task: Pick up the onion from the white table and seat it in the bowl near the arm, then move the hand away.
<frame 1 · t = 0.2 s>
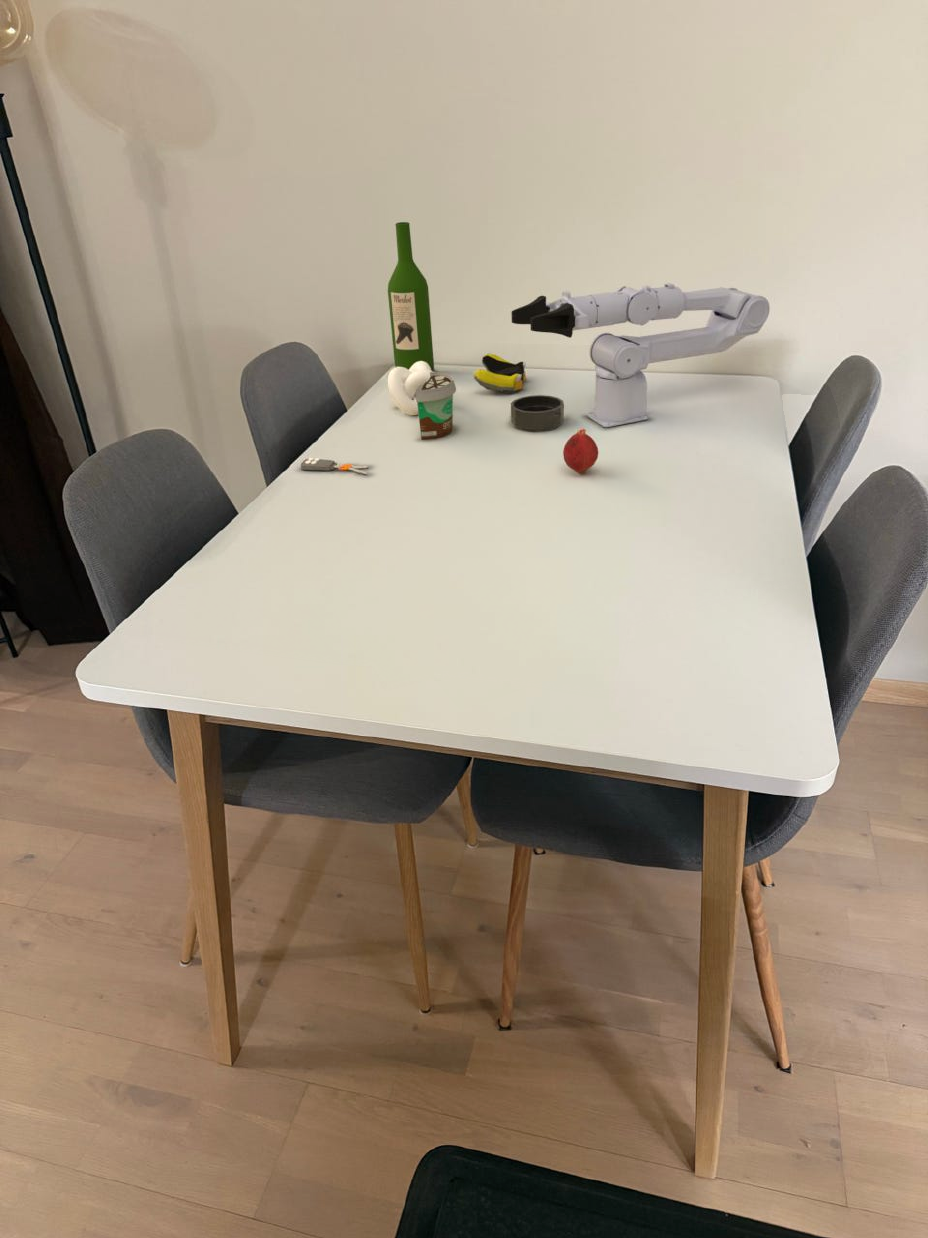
hand: (521, 320, 159), 22 cm above the table, tool horizontal, fingers open, 7 cm apart
banana bunch: (501, 387, 198), on the table
wine bottle: (415, 375, 208), on the table
food container: (442, 432, 176), on the table
white knotted piece: (416, 408, 189), on the table
bowl: (537, 423, 177), on the table
onion: (580, 474, 155), on the table
key chain: (337, 470, 162), on the table
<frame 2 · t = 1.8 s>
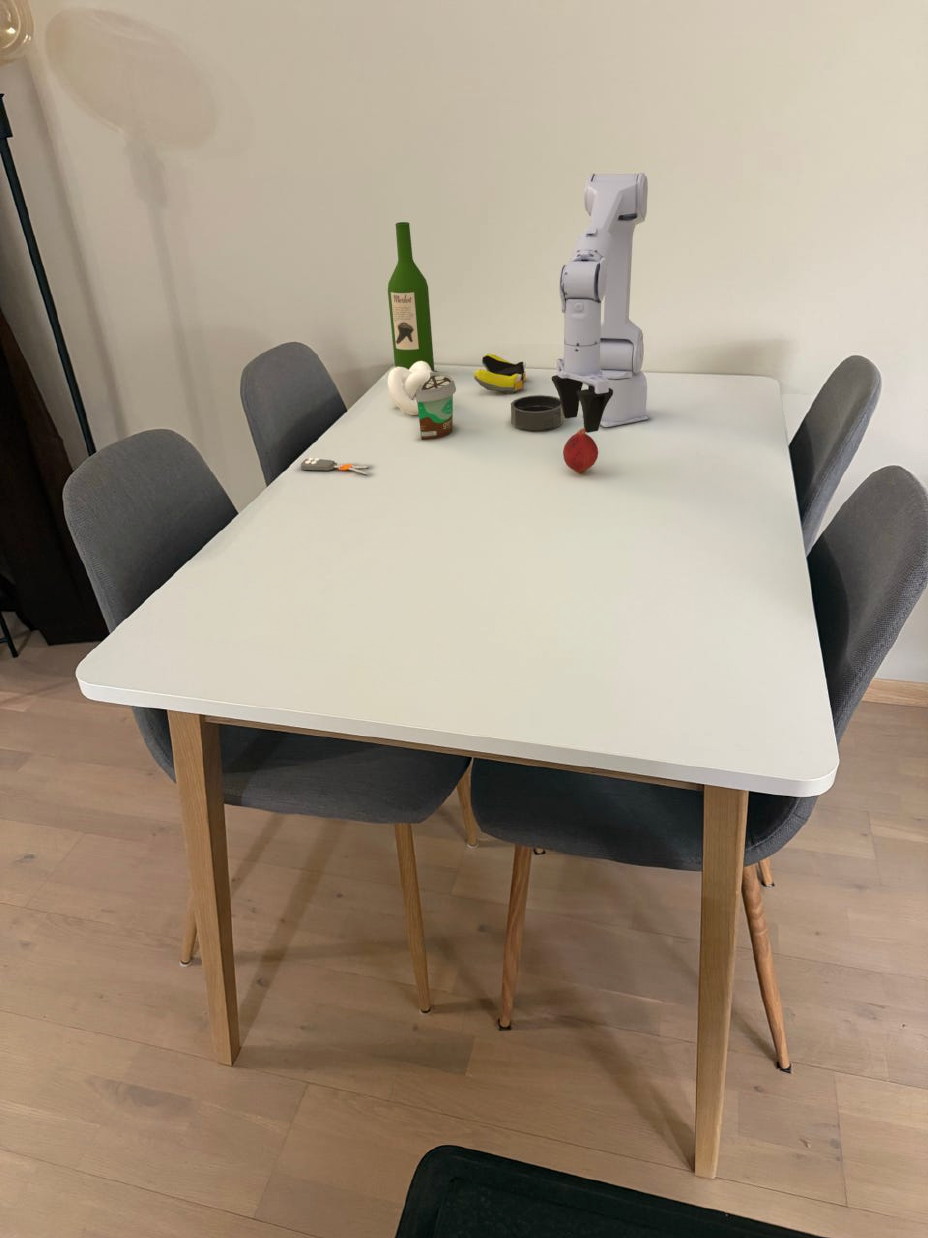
hand: (580, 424, 150), 9 cm above the table, tool pointing down, fingers open, 7 cm apart
nothing on the table moved.
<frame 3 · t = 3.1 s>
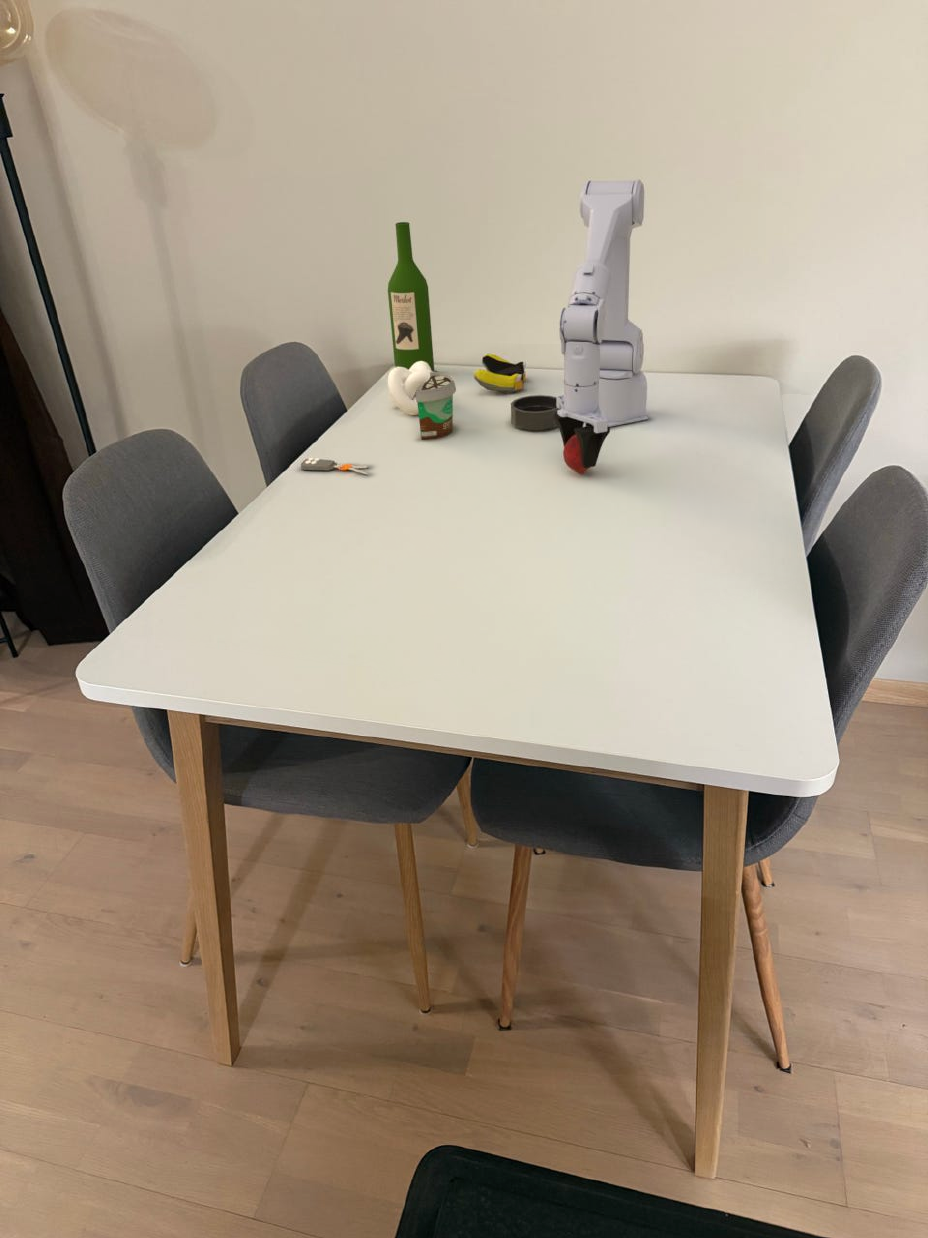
hand: (580, 460, 153), 2 cm above the table, tool pointing down, fingers closed on onion, 6 cm apart
onion: (580, 474, 155), on the table, touching gripper
everything else where it was.
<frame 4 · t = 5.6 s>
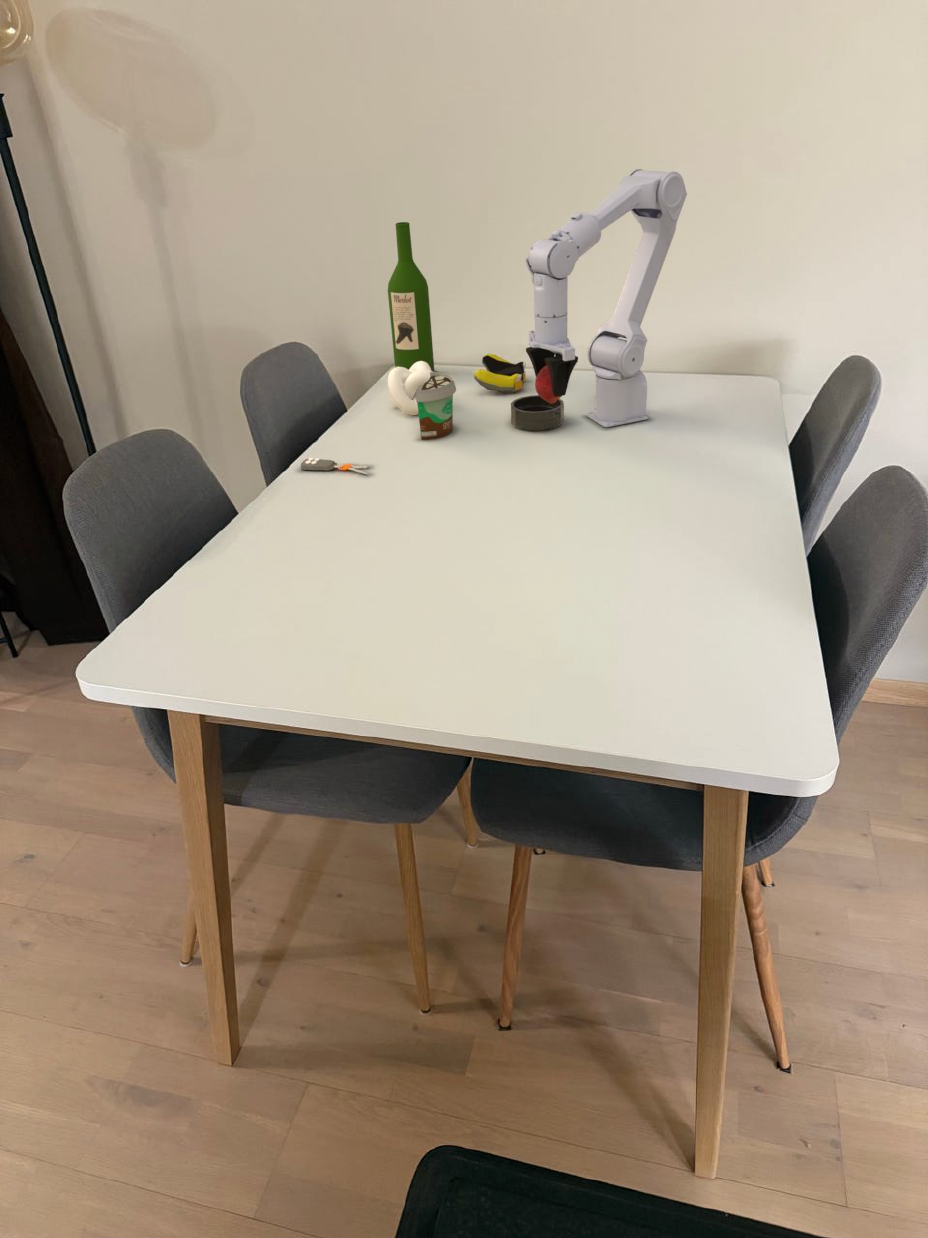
hand: (551, 390, 164), 9 cm above the table, tool pointing down, fingers closed on onion, 6 cm apart
onion: (551, 404, 165), point 7 cm above the table, touching gripper
everything else where it was.
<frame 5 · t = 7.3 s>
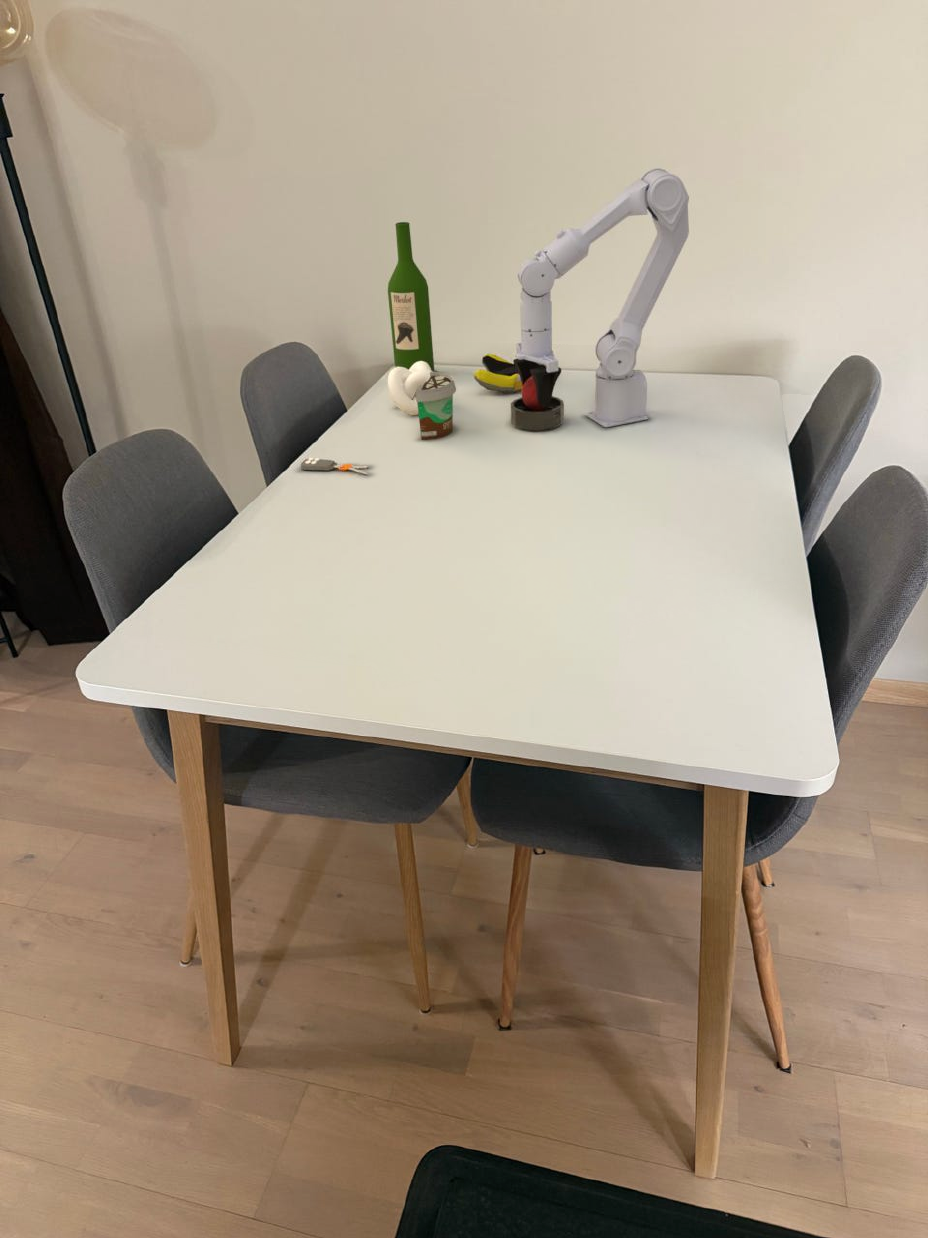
hand: (537, 399, 174), 5 cm above the table, tool pointing down, fingers closed on onion, 6 cm apart
onion: (536, 412, 175), point 2 cm above the table, touching gripper
everything else where it was.
when the fingers open (3 cm above the table, at t = 8.5 s): onion stays where it is, resting on bowl.
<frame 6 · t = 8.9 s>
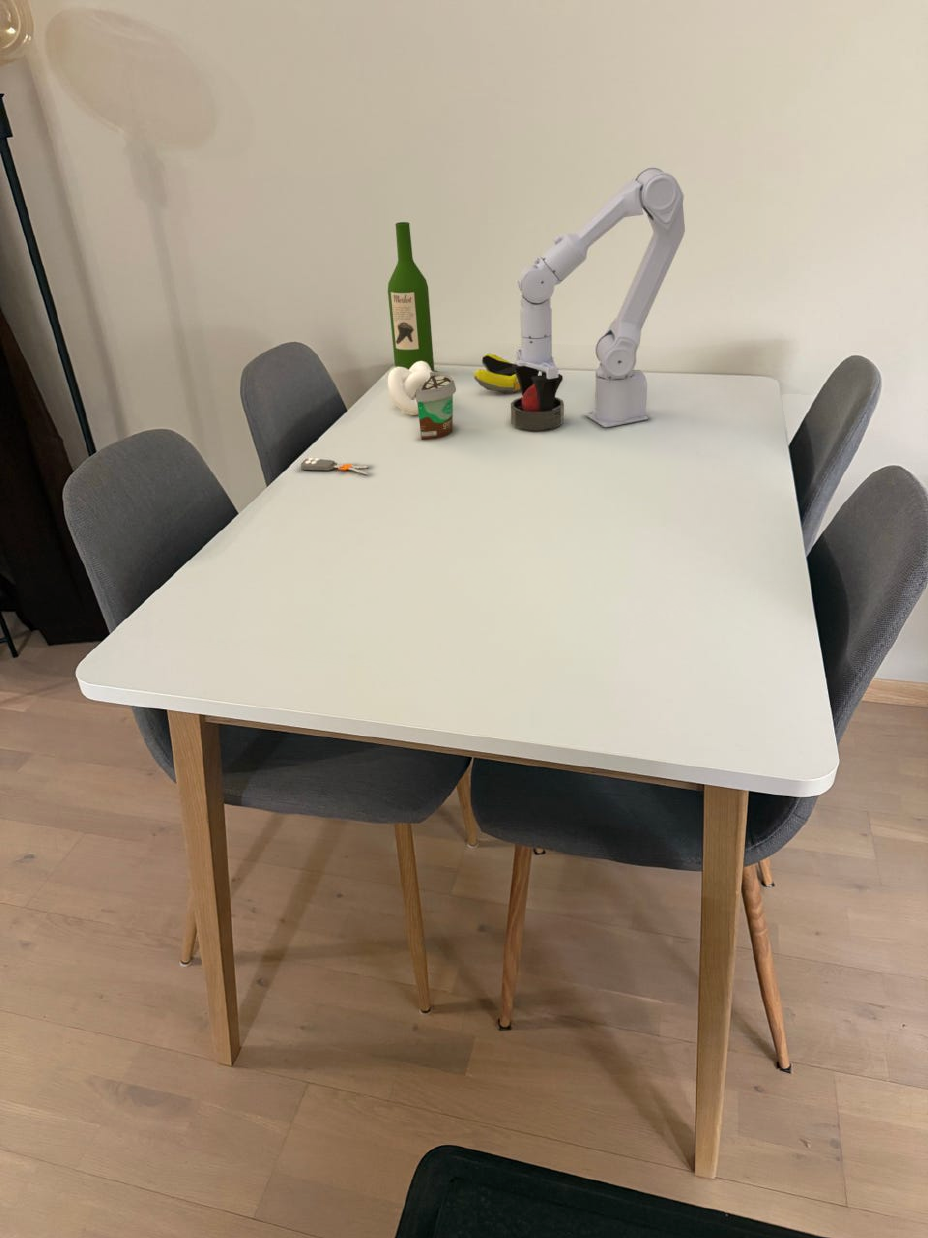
hand: (537, 405, 175), 4 cm above the table, tool pointing down, fingers open, 7 cm apart
onion: (537, 421, 176), resting on bowl
everything else where it was.
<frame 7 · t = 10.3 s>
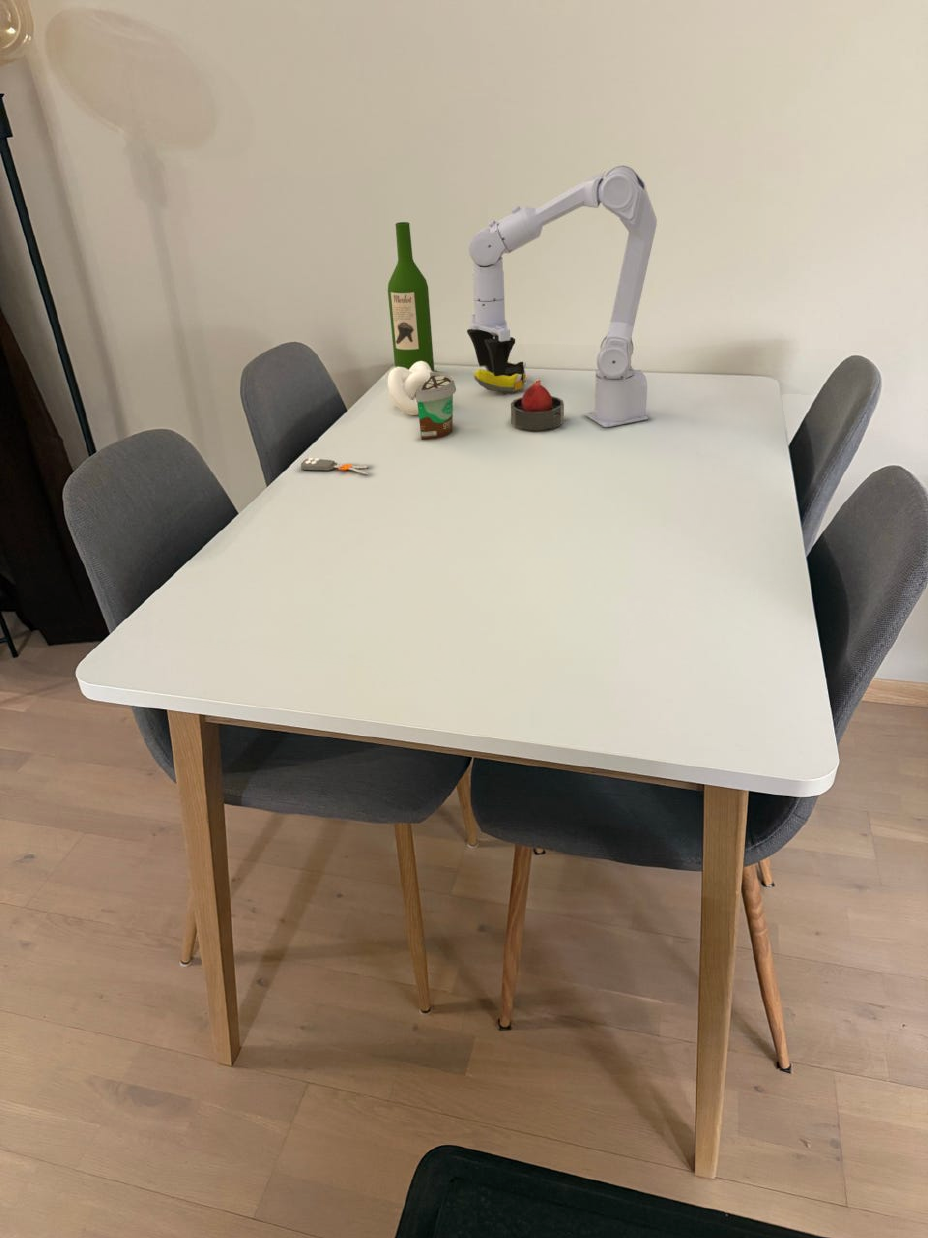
hand: (491, 370, 176), 9 cm above the table, tool pointing down, fingers open, 7 cm apart
nothing on the table moved.
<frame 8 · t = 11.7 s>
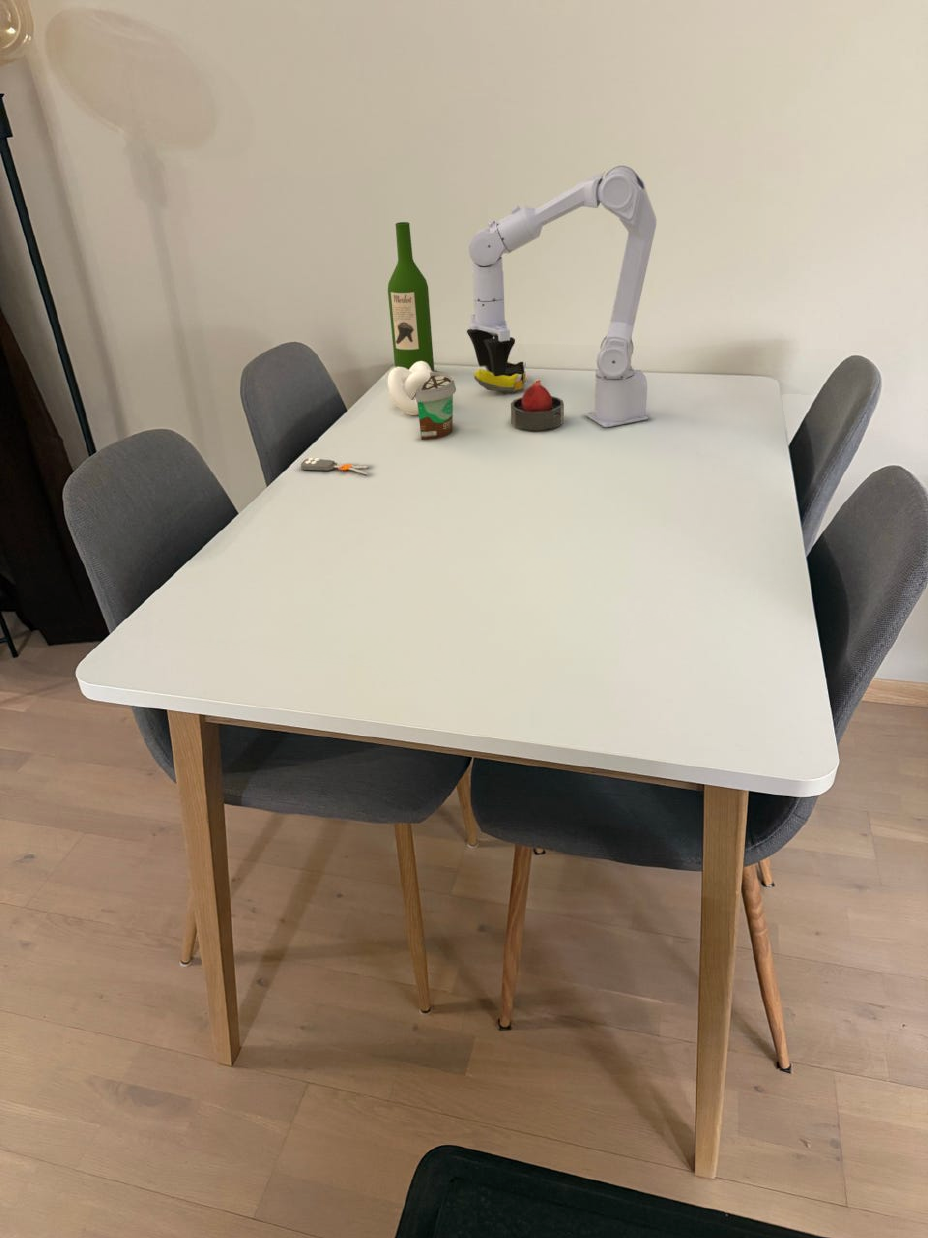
hand: (491, 370, 176), 9 cm above the table, tool pointing down, fingers open, 7 cm apart
nothing on the table moved.
at the end: onion 0.1 cm off-centre in the bowl, point 0.4 cm above the bowl's base; the gripper is holding nothing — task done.
